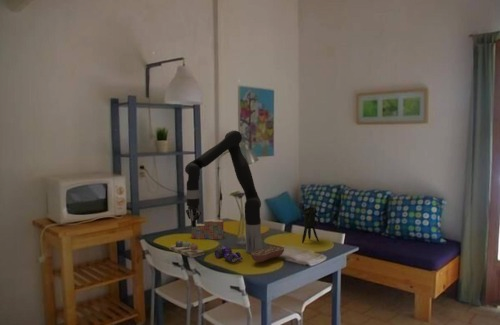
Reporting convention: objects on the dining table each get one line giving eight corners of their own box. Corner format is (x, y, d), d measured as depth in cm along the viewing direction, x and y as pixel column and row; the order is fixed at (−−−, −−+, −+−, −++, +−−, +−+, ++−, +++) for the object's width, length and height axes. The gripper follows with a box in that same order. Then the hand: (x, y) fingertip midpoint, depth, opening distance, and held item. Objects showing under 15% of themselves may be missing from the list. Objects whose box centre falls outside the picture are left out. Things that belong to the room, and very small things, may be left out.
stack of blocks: (191, 238, 275) (191, 221, 274) (193, 236, 281) (193, 219, 281) (222, 239, 273) (222, 221, 273) (223, 236, 280) (223, 219, 279)
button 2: (191, 246, 243) (191, 242, 243) (185, 247, 240) (185, 243, 240) (187, 245, 246) (187, 240, 246) (181, 246, 243) (181, 242, 243)
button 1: (199, 249, 237) (199, 244, 237) (193, 250, 234) (192, 246, 234) (195, 247, 240) (194, 243, 240) (188, 249, 237) (188, 244, 237)
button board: (204, 254, 237) (204, 251, 237) (191, 257, 231) (191, 254, 231) (182, 246, 255) (181, 243, 255) (169, 249, 249) (169, 246, 249)
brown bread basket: (259, 265, 217) (259, 256, 217) (246, 261, 224) (246, 252, 224) (287, 256, 233) (287, 247, 233) (274, 252, 240) (274, 244, 240)
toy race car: (232, 263, 222) (232, 251, 222) (214, 257, 232) (214, 246, 232) (244, 259, 229) (244, 247, 229) (226, 254, 239) (226, 243, 239)
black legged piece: (310, 238, 273) (310, 201, 271) (325, 240, 265) (325, 203, 264) (293, 243, 259) (293, 205, 258) (308, 247, 251) (308, 207, 250)
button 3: (184, 245, 249) (184, 241, 249) (178, 247, 246) (178, 243, 246) (180, 244, 252) (180, 240, 252) (174, 245, 249) (174, 241, 249)
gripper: (204, 197, 233) (205, 227, 234) (191, 195, 243) (192, 224, 244) (194, 199, 228) (194, 229, 229) (181, 197, 238) (182, 226, 239)
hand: (193, 226), depth 236 cm, fingers closed
